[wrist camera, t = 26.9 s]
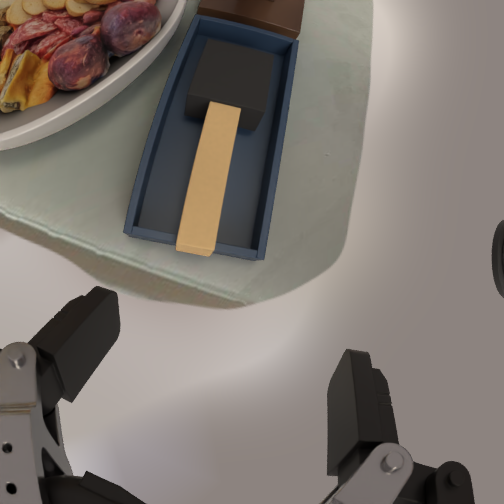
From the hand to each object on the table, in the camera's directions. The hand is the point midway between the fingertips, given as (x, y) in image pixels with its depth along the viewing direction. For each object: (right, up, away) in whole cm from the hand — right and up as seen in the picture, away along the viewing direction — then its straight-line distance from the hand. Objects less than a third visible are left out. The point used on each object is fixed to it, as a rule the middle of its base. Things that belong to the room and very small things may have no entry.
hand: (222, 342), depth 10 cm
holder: (-2, +14, +15) cm, 21 cm away
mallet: (-2, +12, +13) cm, 18 cm away
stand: (+1, +30, +17) cm, 34 cm away
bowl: (-21, +26, +11) cm, 35 cm away
